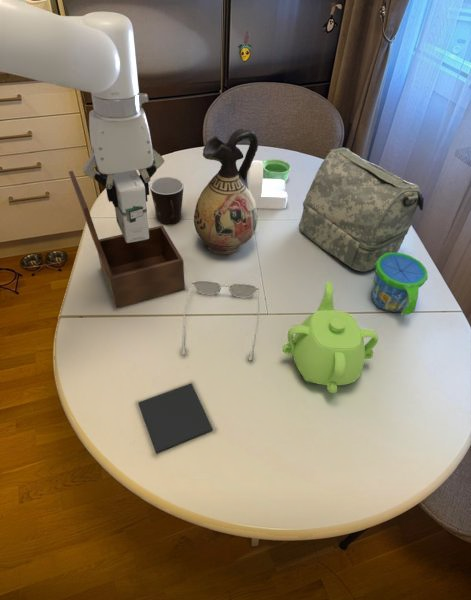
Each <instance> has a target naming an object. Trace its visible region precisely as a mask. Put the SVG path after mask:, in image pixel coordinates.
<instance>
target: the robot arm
mask: <svg viewBox="0 0 471 600" xmlns="http://www.w3.org/2000/svg"><path fill="white" fill-rule="evenodd" d="M134 35H135V34H134V27H133V24H132V21H131V20H130V18H128V17H127V16H126V15H125V14H122V13H118V12H115V11H114V12H113V11H93V12H88V13H86V14H84V15H60V14H57V13H54V12H51V11H48V10H46V9H44V8H41V7H37V6H35V5H32V4H30V3H28V2H25V1H23V0H0V72H1V73H5V74H10V75H14V76H19V77H22V78H26V79H30V80H34V81H38V82H41V83H46V84H51V85H55V86H59V87H63V88H67V89H72V90H77V91H81V92H86V93H90V95H91V101H92V107H93V109H91V110H90V111H89V113H88V126H89V127H88V129H89V139H90V148H91V154H90V156H89V157H88V159H87V161H86V163H85V165H84V166H83V167H82V172H83V175H85V176H87V177H89V178H90V179H92V180H95V181H96V182H97V183H99V184H100V185H102V186H104V187H105V191H106V197H107V201H108V202H109V203H112V205H113V207H114V208H115V207H118V199H117V193H116V188H115V186H114V184H113V180H114V174H115V173H121V172H127V171H134V170H136V171H137V172H139V173H138V175H139V176H140V179H141V180H142V182H143V184H144V186H145V196H146V203H147V202H148V196H149V195H150V184H149V183H151V178H152V177H153V176H154V175H155V173H156V172H157V171H158V169H159V168H160V167H161V166H163V164H165V159H164V158H163V156H162V155H161V154H160V153H158V151H157V150H156V149H154V148H153V144H152V139H151V138H152V137H151V132H150V127H149V123H148V119H147V115H146V112H145V110H144V108H143V107H142V106H143V104H145V103H149V95H148V94H147V93H144V92H140V87H139V77H138V68H137V67H138V66H137V57H136V46H135V45H136V43H135V36H134ZM96 167H97V169H98V170H96V169H95V168H96Z"/></svg>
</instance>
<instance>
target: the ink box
mask: <svg viewBox="0 0 471 600" xmlns="http://www.w3.org/2000/svg"><path fill="white" fill-rule="evenodd" d="M139 175H140V174H139V173H138V170H134V171H127V172H121V173H115V174H114V180H113V184H114V186H115V188H116V193H117V199H118V207H114V211H115V218H116V220H115V221H116V223H117V225H118V227H119V229H120V230H119V231H120V232H121V234H123V236H124V239H125V241H126V243H131V242H136V241H141V240H146V239H149V229H148V228H149V220H148V210H147V209H148V208H147V202H146V196H145V186H144V184H143V182H142V180H141V179H140V176H139Z"/></svg>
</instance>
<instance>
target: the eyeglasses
mask: <svg viewBox="0 0 471 600" xmlns="http://www.w3.org/2000/svg"><path fill="white" fill-rule="evenodd" d="M192 285H193V286H194V288H195V289H196V291H197V293H198V294H201V295H208V296H209V295H211V296H213V295H214V296H215V295H216V294H217V293H219V292H220V291H221V287H226V288H227V287H228V291H229V294H232V295H233V296H234V297H237V298H242V299H243V298H245V299H247V298H251V297H252V296H253V295H254V294H255V293H256V291H257V293H258V294H260V292H261V291H260V290H261V288H260V287H259V286H256V285H254V284H250V283H241V282H240V283H232V284H230V285H228V284H226V283H224V284H220V283H219V282H217V281H213V280H205V279H198V280H195V281H190V283H189V290H188V294H187V297H186V300H185V304H187V302H188V298H189V295H190V291H191V288H192ZM186 308H187V305H185V306H184V310H183V311H184V312H183V316H182V317H183V320H182V345H181V354H182V356H186V346H185V319H186V316H185V313H186ZM259 316H260V308H258V312H257V319H259V318H260V317H259ZM258 326H259V320H257V321H256V325H255V330H254V335H253V341H252V345H251V349H250V352H249V357H248V361H249V362H251V361H253V356H254V349H255V343H256V336H257V331H258Z"/></svg>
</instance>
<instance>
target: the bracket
mask: <svg viewBox="0 0 471 600" xmlns="http://www.w3.org/2000/svg"><path fill="white" fill-rule="evenodd" d="M263 162H264V161H263V160H255V159H253V161H252V163H251V167H250V168H249V170H248V174H247V182H248V189H249V190H250V192H251V194H252V196H253V198H254V201H255V204H256V209H268V210H269V209H272V210H284V209H286V207H287V201H288V191H285V190H286V182H285V181H284V180H282V179H263Z"/></svg>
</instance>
